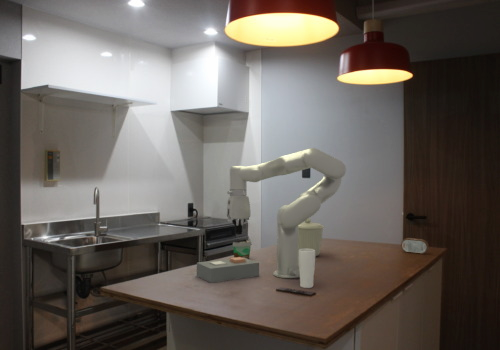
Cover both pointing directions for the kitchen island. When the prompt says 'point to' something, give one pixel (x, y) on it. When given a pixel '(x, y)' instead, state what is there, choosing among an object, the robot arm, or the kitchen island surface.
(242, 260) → the terracotta brown block
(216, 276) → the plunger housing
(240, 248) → the food container
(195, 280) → the kitchen island surface
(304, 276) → the drinking glass
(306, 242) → the canister
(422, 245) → the tin
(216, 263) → the cream cube block
